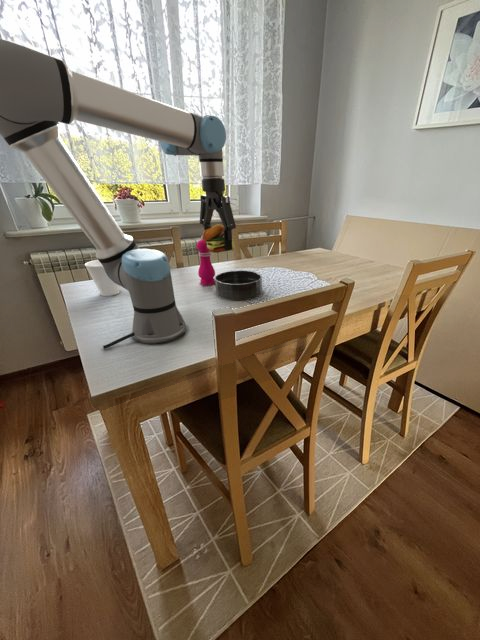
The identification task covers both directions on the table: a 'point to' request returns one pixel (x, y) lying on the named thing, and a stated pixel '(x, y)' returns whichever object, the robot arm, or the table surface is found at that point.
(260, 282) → the bowl
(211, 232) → the cheeseburger
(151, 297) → the robot arm
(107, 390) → the table surface
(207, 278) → the pepper mill
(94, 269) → the cup
